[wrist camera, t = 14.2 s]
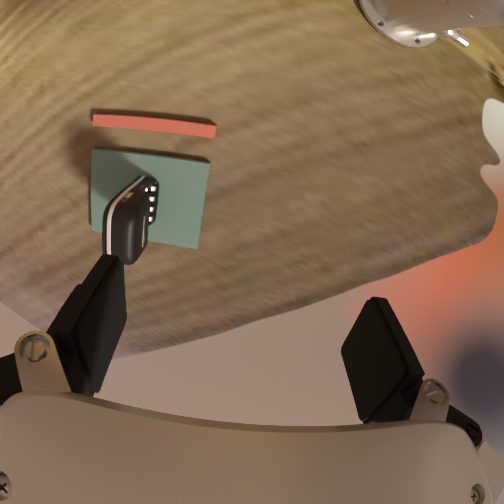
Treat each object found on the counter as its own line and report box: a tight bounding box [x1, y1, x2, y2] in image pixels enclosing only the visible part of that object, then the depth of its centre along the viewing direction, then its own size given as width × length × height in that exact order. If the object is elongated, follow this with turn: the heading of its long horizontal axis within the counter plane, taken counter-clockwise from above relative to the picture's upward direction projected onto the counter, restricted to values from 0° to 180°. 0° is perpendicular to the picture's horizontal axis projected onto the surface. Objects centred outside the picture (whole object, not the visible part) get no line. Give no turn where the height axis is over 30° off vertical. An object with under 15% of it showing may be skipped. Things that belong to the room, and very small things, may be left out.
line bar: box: [93, 114, 217, 138], centre depth 32 cm, size 16×2×1 cm, turn 78°
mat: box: [91, 148, 211, 249], centre depth 37 cm, size 16×12×1 cm
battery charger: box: [102, 176, 159, 265], centre depth 32 cm, size 7×4×11 cm, turn 166°
